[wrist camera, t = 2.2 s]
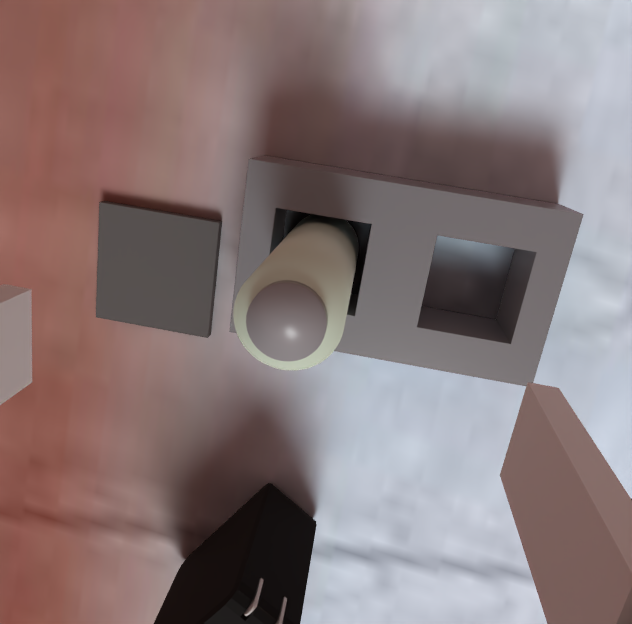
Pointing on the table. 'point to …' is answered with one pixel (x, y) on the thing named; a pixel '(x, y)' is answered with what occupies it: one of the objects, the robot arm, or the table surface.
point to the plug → (299, 295)
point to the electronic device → (247, 568)
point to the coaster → (157, 268)
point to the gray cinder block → (420, 263)
